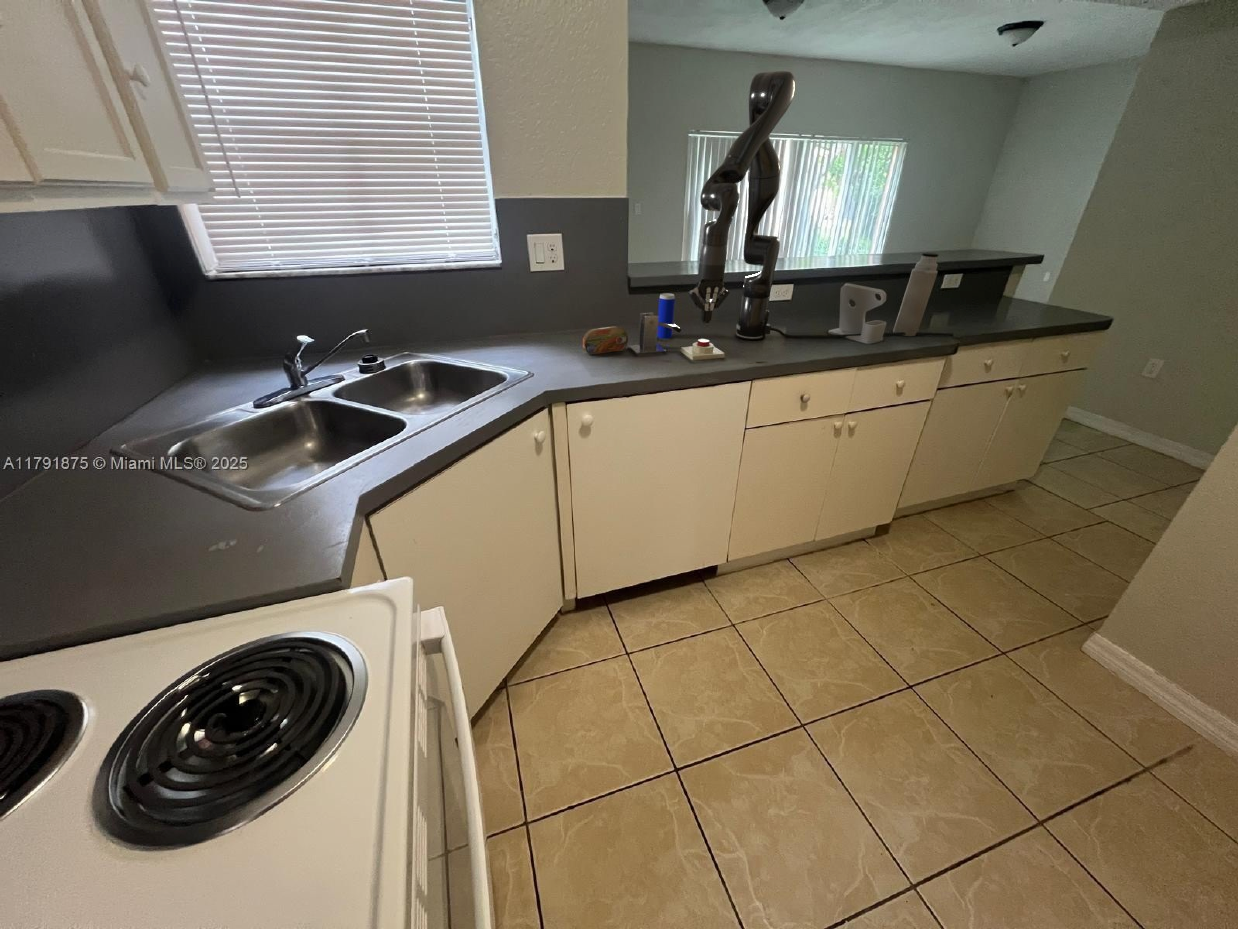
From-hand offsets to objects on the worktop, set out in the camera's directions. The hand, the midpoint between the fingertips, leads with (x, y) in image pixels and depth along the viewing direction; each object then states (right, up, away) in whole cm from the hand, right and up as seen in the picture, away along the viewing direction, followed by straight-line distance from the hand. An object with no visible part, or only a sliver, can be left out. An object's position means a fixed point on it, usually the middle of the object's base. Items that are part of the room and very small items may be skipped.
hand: (705, 322), depth 148 cm
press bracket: (-17, -7, +9) cm, 21 cm away
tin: (-31, -8, +6) cm, 33 cm away
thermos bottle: (+82, +6, +35) cm, 89 cm away
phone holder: (+60, +3, +30) cm, 67 cm away
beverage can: (-11, 0, +22) cm, 25 cm away
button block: (0, -9, +6) cm, 11 cm away
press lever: (-13, 0, +6) cm, 15 cm away
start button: (0, -6, +4) cm, 7 cm away
